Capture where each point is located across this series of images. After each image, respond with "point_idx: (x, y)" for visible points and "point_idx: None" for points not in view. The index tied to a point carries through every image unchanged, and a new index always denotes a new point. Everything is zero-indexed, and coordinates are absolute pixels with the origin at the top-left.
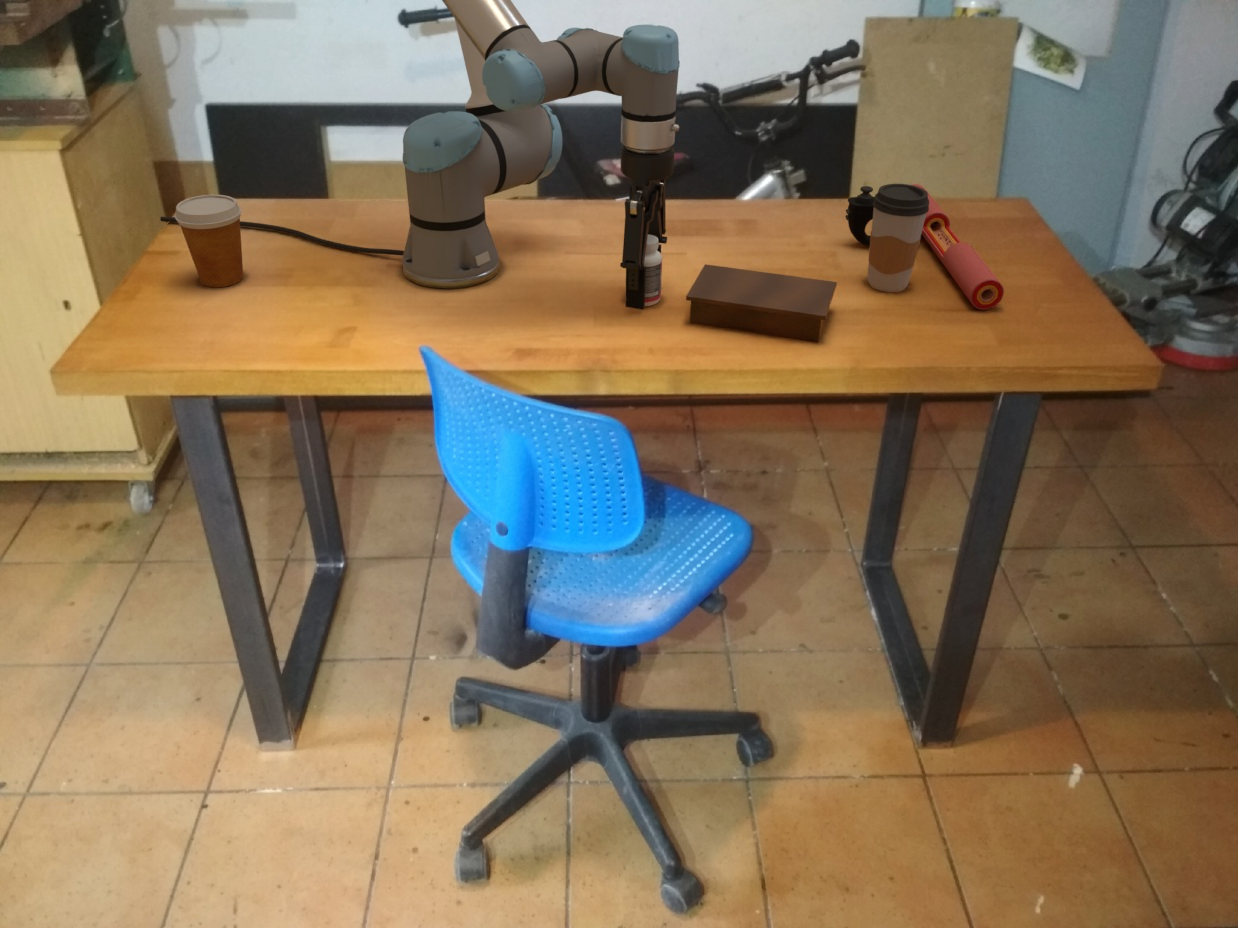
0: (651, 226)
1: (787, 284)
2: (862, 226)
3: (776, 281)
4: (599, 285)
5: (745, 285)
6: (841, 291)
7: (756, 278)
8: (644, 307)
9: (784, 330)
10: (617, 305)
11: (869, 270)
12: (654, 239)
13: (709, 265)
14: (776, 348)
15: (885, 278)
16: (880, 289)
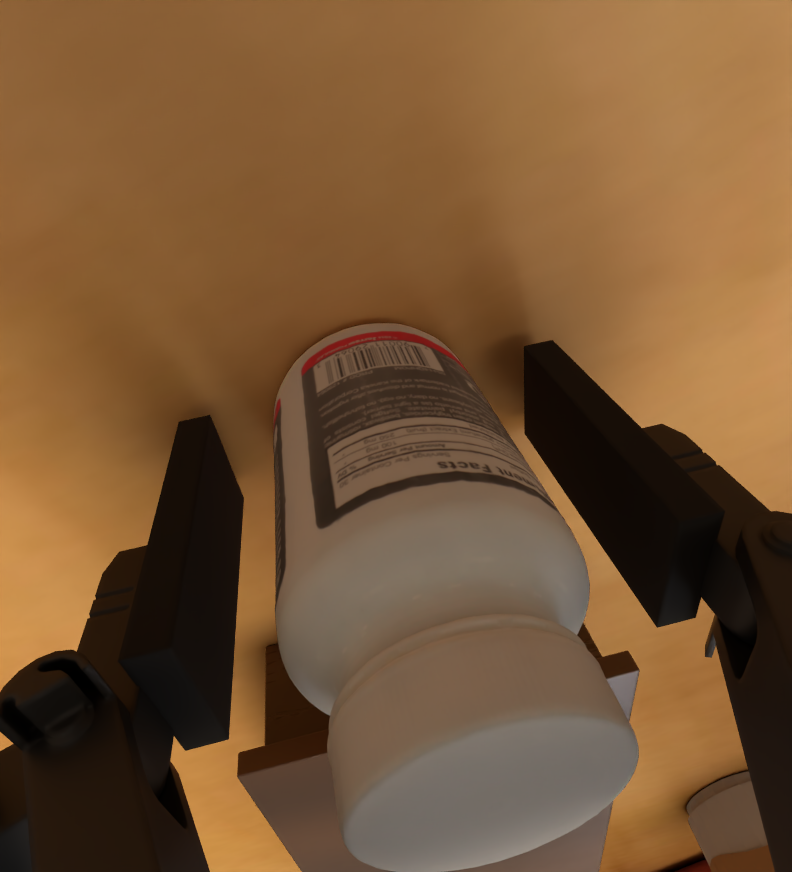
0: (789, 786)
1: (532, 862)
2: None
3: (544, 844)
4: (458, 35)
5: None
6: (672, 765)
7: None
8: (243, 498)
9: None
10: (228, 326)
11: (745, 823)
12: (515, 845)
13: (629, 686)
14: (267, 825)
15: (705, 845)
16: (693, 802)
